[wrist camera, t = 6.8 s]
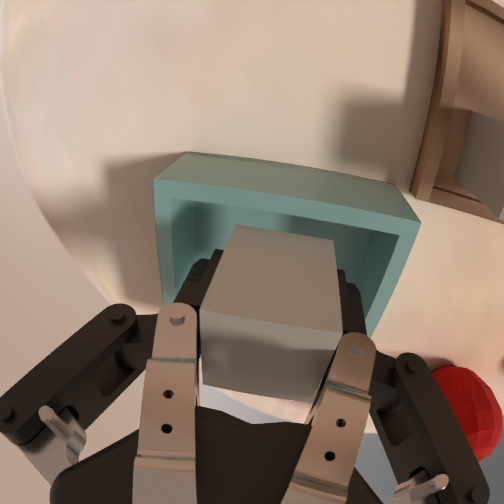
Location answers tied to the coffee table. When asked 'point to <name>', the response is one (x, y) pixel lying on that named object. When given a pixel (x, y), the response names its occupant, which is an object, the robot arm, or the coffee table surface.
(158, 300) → the coffee table surface
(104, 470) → the robot arm
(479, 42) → the tray
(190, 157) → the teal open box
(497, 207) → the block
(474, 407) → the apple
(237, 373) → the matte taupe cube
